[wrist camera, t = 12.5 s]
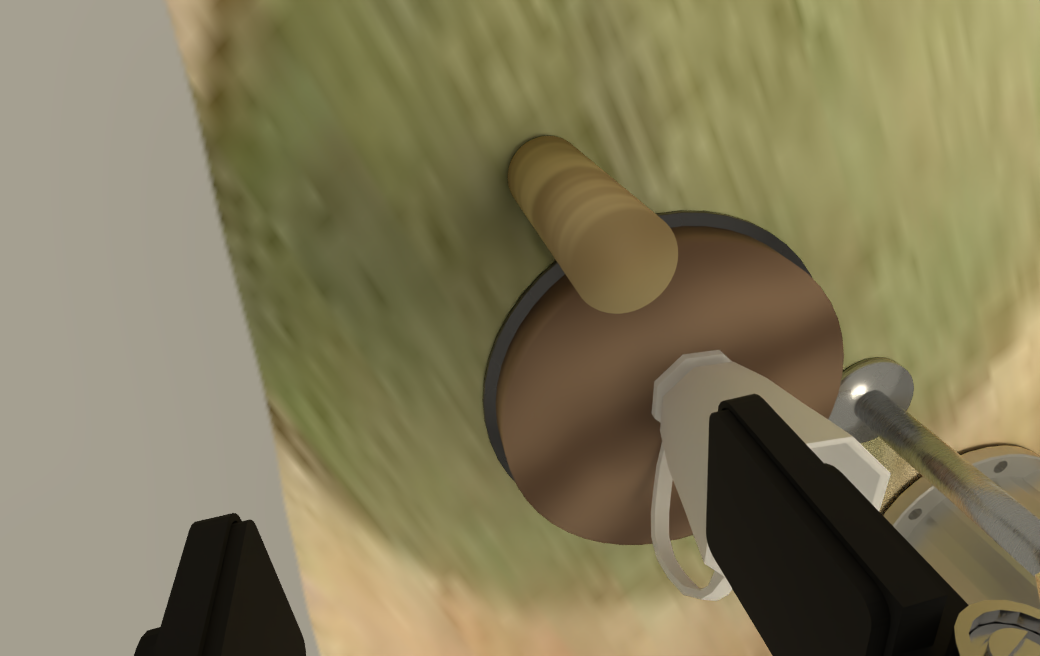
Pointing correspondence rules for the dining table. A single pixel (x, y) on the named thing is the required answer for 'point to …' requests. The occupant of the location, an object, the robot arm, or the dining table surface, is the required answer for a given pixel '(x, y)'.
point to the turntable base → (556, 273)
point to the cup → (684, 450)
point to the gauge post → (932, 456)
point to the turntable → (637, 341)
